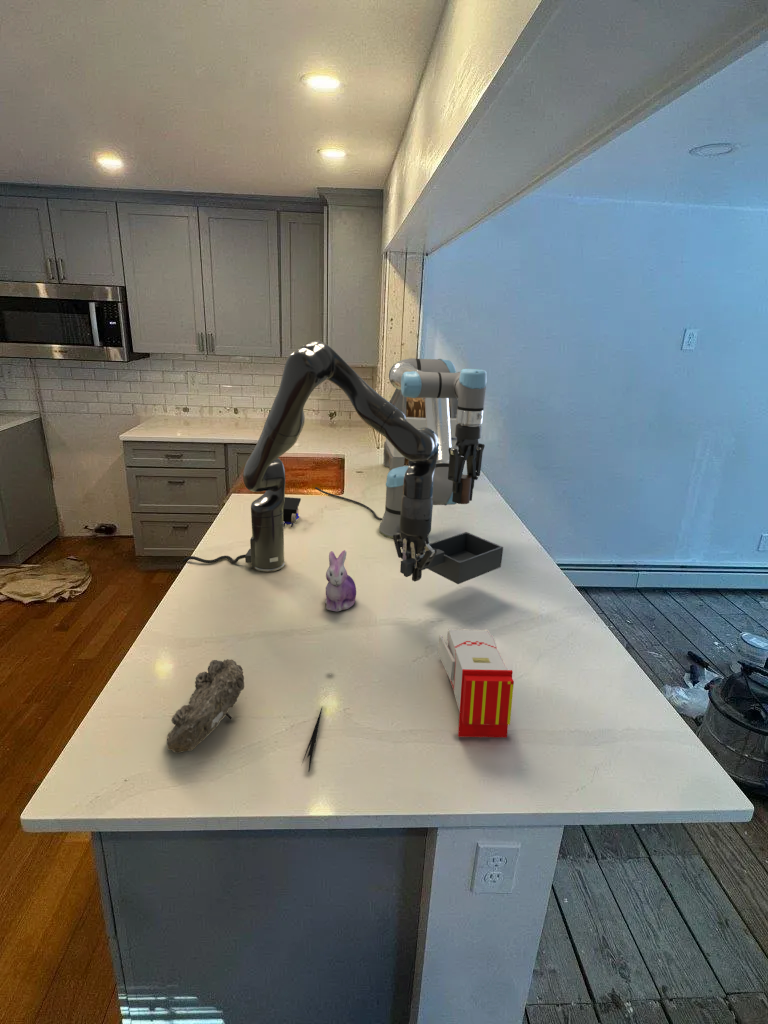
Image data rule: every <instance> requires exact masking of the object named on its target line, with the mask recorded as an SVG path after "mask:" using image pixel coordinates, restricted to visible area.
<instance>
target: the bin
mask: <svg viewBox="0 0 768 1024" xmlns="http://www.w3.org/2000/svg"><path fill="white" fill-rule="evenodd" d="M429 545H430V547H431V548H432V549H434V548H435V549H436V550H437V553H436V554H435V556H434V558H433V559H432V561H431V563H430V565H429V566H427V567H424V568H422V571H424V570H428V571H431V572H432V573H434V574H437V575H439V576H441V577H443V578H444V579H446V580H448V581H450V582H452V583H454V584H457V585H461V584H463V583H465V582H468V581H470V580H473V579H476V578H478V577H480V576H483V575H485V574H488V573H490V572H493V571H495V570H498V569H500V568H501V567H502V560H503V554H504V553H503V552H504V546H501V545H500V544H497V543H495V542H492V541H489V540H487V539H485V538H482V537H480V536H477V535H475V534H473V533H470V532H469V531H464V532H462V533H459V534H455V535H451V536H448V537H446V538H443V539H440V540H437V541H433V542H431V543H430V542H429ZM418 562H419V559H418ZM399 567H400V570H399V573H401V574H402V575H403V576H404V575H406V576H408V575H410V574H412V573H413V559H412V558H409V559H406V560H403V561H402V560H400V566H399ZM408 577H409V576H408Z"/></svg>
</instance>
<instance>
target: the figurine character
mask: <svg viewBox="0 0 768 1024" xmlns="http://www.w3.org/2000/svg"><path fill="white" fill-rule="evenodd" d="M301 500H302V498H301V497H290V496H289V497H288V496H285V502H284V506H283V528H286V525H290V528H293V527H294V524H296V523H297V520H298V519H300V516H299V512H300V511H299V506H300V503H301Z"/></svg>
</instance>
